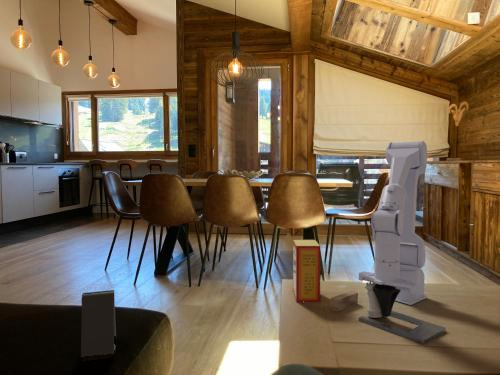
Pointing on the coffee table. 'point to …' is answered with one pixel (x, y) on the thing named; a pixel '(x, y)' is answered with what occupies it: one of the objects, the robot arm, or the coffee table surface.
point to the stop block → (344, 301)
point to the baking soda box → (306, 270)
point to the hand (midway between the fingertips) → (386, 315)
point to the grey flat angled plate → (418, 334)
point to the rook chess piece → (373, 302)
